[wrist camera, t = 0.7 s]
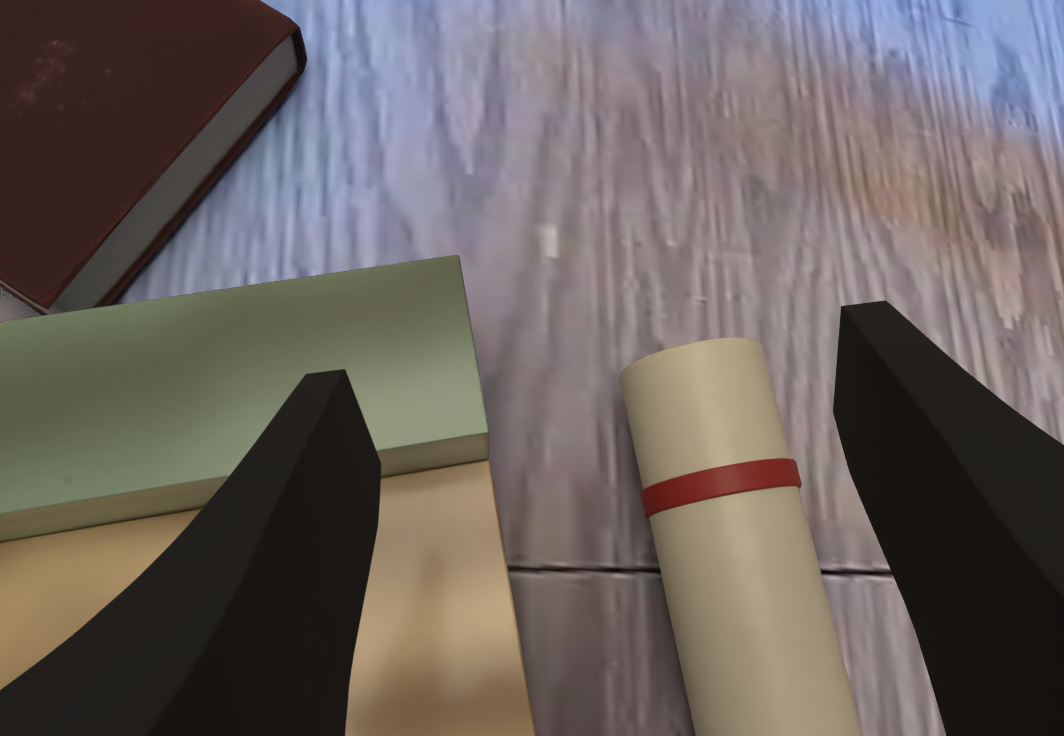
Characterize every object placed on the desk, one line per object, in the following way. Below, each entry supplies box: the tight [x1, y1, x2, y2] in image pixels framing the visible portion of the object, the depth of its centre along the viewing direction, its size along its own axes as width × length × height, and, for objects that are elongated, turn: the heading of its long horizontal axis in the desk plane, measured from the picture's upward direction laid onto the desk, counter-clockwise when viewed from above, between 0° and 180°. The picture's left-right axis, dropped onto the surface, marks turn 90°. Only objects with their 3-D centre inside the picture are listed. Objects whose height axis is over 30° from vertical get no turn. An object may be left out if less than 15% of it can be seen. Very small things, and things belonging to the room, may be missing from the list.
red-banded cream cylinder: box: [619, 338, 863, 736], centre depth 26 cm, size 15×5×5 cm, turn 10°
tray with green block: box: [0, 255, 536, 736], centre depth 24 cm, size 16×19×6 cm
